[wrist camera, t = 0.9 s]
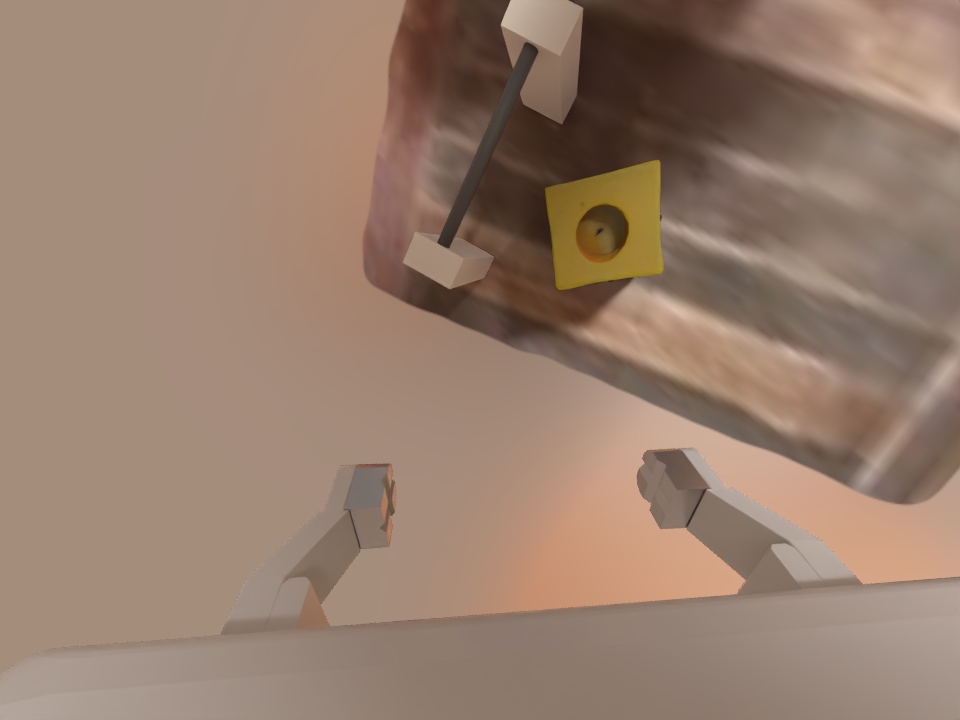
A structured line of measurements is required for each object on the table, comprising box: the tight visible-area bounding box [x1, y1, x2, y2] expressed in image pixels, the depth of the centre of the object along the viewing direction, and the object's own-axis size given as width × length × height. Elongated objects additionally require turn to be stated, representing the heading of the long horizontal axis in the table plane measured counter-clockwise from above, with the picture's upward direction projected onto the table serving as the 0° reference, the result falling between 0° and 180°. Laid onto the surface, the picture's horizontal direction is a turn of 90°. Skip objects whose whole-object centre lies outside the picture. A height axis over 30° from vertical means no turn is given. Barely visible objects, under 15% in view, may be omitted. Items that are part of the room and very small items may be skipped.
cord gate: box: [403, 0, 583, 289], centre depth 36 cm, size 22×5×15 cm, turn 153°
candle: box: [545, 160, 664, 290], centre depth 38 cm, size 10×10×10 cm
